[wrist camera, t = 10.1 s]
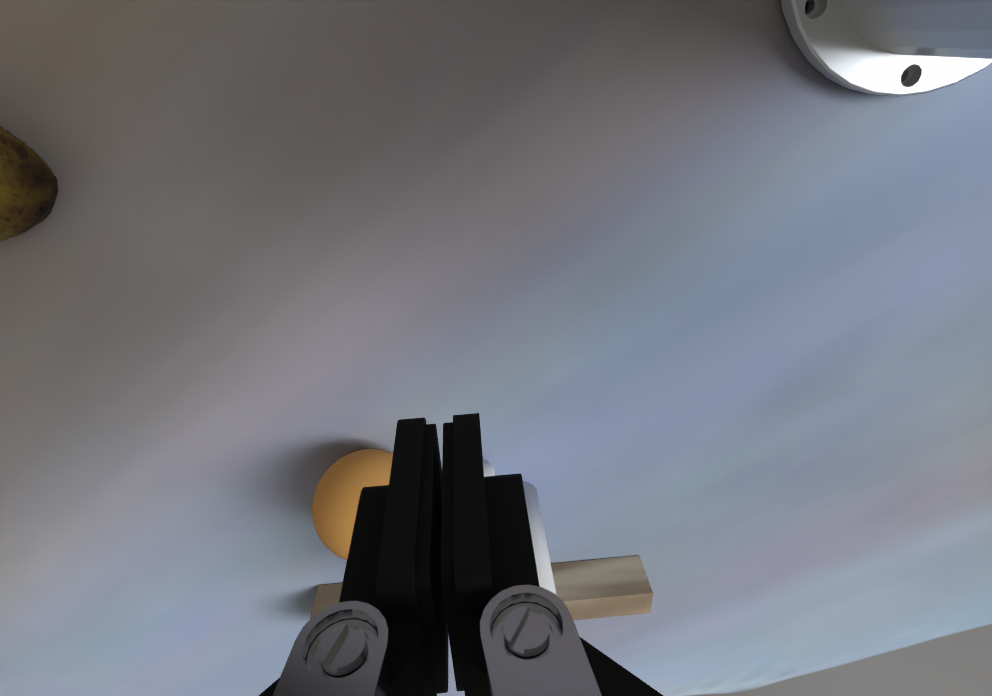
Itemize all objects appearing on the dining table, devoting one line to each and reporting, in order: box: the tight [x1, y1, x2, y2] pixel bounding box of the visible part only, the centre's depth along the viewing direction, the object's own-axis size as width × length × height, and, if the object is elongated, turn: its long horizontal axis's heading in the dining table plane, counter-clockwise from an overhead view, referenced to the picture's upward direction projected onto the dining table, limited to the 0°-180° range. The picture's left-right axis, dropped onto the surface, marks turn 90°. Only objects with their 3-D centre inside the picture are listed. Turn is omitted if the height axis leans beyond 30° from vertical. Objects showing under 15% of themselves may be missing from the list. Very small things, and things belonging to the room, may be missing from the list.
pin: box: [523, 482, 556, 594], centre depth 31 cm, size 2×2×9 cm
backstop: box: [310, 555, 653, 620], centre depth 38 cm, size 2×22×3 cm, turn 93°
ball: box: [312, 449, 393, 560], centre depth 31 cm, size 6×6×6 cm
